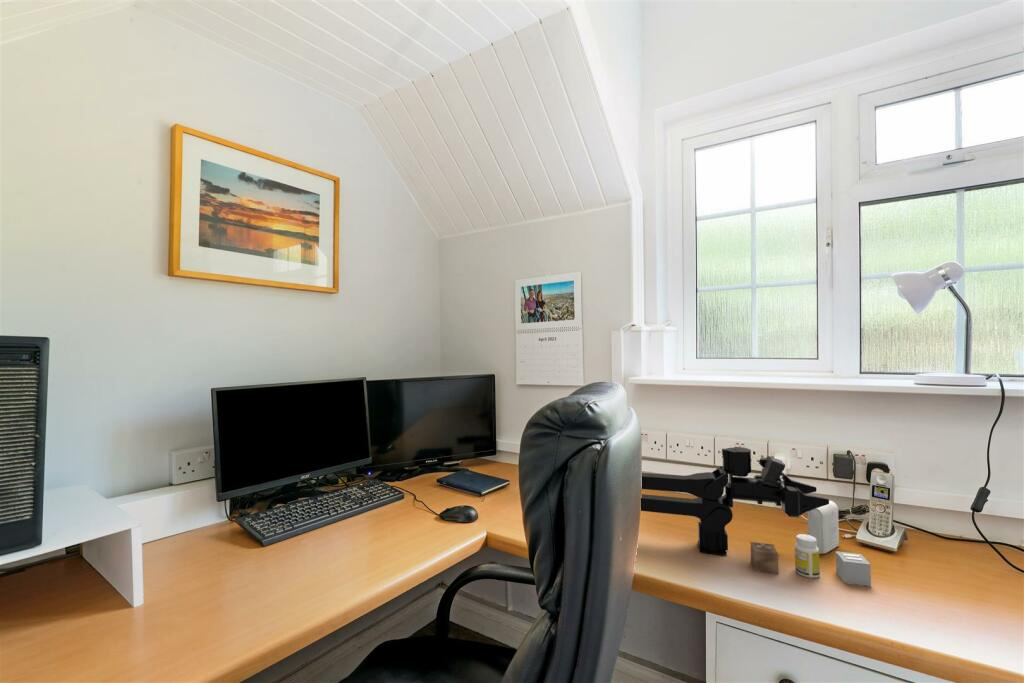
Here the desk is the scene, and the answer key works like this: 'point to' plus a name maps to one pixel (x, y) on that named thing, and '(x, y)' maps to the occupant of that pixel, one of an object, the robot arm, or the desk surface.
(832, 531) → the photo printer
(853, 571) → the grey block
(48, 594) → the desk surface
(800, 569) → the supplement bottle
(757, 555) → the walnut block
